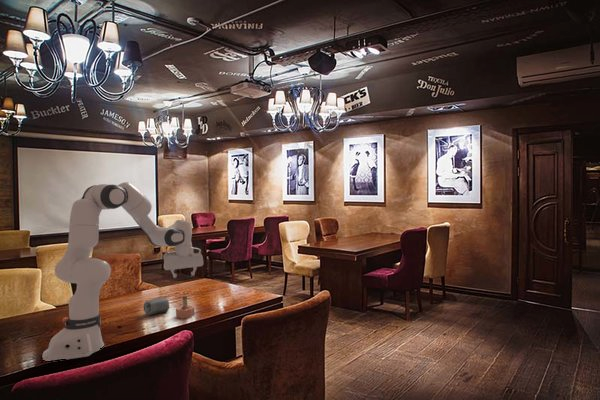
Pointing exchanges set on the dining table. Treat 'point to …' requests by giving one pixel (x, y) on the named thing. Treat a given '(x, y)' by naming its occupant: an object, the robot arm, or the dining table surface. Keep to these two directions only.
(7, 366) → the dining table surface
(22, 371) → the dining table surface
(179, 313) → the bead
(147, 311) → the spool
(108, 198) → the robot arm
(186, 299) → the dowel
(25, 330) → the dining table surface
